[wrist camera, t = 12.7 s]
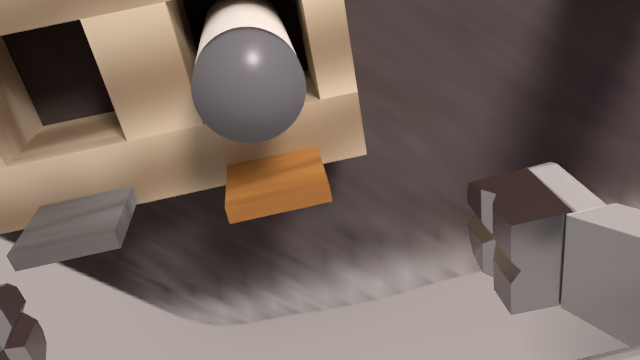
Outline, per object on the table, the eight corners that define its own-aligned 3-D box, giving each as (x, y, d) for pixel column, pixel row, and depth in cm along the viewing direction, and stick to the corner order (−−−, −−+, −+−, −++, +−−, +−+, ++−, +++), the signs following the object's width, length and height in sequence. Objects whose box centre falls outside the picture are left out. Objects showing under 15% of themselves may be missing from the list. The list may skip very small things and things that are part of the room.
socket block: (-77, -42, 24) (-233, -15, 16) (310, -120, 25) (342, -130, 17) (36, 185, 30) (-38, 287, 22) (348, 118, 30) (386, 193, 22)
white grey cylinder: (194, -1, 26) (175, 47, 18) (272, -18, 26) (293, 21, 18) (216, 76, 28) (209, 154, 19) (289, 59, 28) (315, 129, 20)
